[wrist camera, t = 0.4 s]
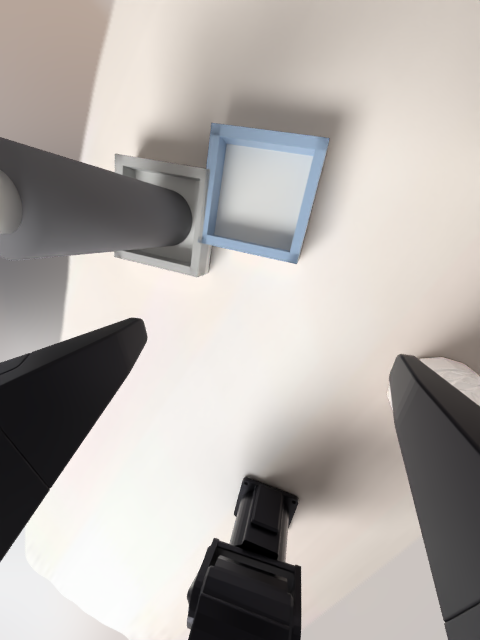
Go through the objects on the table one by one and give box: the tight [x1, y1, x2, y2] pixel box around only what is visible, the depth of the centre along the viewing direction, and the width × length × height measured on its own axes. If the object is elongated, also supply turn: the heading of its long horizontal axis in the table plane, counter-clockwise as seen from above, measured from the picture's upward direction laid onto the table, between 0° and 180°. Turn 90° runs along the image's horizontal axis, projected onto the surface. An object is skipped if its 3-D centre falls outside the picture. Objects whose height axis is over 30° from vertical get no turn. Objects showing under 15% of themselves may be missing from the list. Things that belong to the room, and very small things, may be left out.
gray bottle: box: [0, 137, 192, 260], centre depth 15 cm, size 4×4×15 cm
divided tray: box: [114, 123, 329, 277], centre depth 20 cm, size 11×16×2 cm
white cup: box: [387, 357, 480, 411], centre depth 17 cm, size 8×8×10 cm
